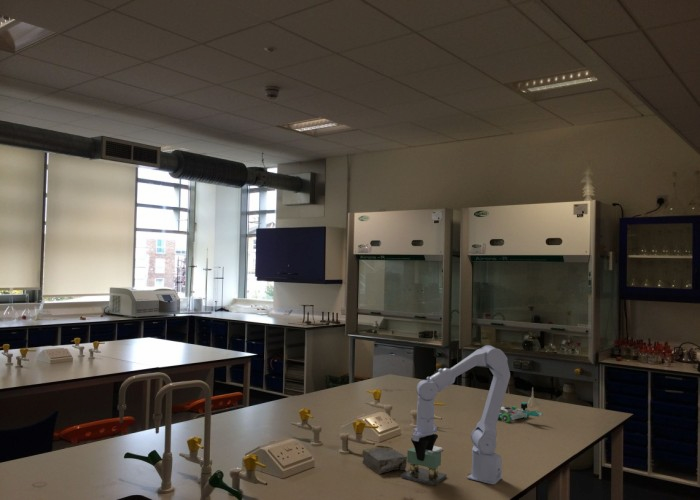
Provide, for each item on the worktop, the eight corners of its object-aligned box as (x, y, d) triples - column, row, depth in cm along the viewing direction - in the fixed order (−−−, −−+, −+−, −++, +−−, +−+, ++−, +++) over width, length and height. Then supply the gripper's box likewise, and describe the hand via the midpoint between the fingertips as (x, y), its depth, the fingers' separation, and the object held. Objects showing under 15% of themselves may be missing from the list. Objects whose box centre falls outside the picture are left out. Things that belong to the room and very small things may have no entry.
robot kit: (530, 430, 256) (531, 409, 257) (484, 417, 276) (485, 398, 276) (552, 423, 268) (553, 403, 269) (507, 412, 288) (507, 394, 288)
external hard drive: (407, 454, 217) (424, 447, 227) (425, 459, 212) (442, 451, 221) (407, 449, 217) (424, 443, 227) (425, 454, 212) (442, 447, 221)
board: (440, 464, 190) (441, 450, 191) (434, 468, 186) (434, 454, 186) (414, 458, 196) (414, 444, 196) (407, 462, 192) (407, 448, 192)
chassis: (446, 477, 192) (446, 465, 192) (433, 485, 184) (433, 473, 184) (414, 469, 198) (414, 457, 199) (400, 477, 190) (401, 465, 190)
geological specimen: (380, 461, 192) (359, 446, 205) (380, 479, 192) (359, 462, 205) (407, 456, 197) (385, 442, 210) (407, 474, 197) (385, 458, 210)
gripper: (424, 411, 200) (423, 450, 199) (404, 419, 188) (403, 461, 187) (442, 414, 196) (441, 454, 196) (424, 422, 184) (422, 465, 184)
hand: (424, 458), depth 191 cm, fingers closed on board, 5 cm apart
